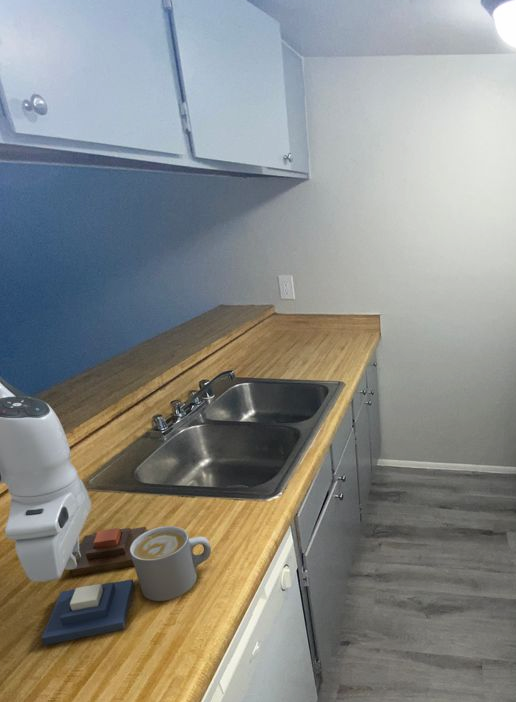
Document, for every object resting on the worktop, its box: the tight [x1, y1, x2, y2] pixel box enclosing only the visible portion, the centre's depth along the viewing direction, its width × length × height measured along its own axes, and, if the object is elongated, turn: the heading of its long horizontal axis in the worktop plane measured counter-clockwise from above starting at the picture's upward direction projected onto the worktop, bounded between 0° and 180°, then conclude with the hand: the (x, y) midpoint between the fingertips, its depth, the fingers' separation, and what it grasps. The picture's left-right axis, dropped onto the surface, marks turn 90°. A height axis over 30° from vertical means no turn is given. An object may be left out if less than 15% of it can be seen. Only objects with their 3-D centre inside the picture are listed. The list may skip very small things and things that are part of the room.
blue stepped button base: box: [40, 578, 135, 646], centre depth 85 cm, size 12×11×4 cm
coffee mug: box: [130, 525, 212, 602], centre depth 92 cm, size 13×10×10 cm
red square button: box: [94, 527, 121, 549], centre depth 98 cm, size 4×4×2 cm
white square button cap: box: [70, 583, 103, 611], centre depth 84 cm, size 4×4×2 cm
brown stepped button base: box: [70, 526, 148, 577], centre depth 99 cm, size 12×11×4 cm
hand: (73, 563), depth 81 cm, fingers closed
